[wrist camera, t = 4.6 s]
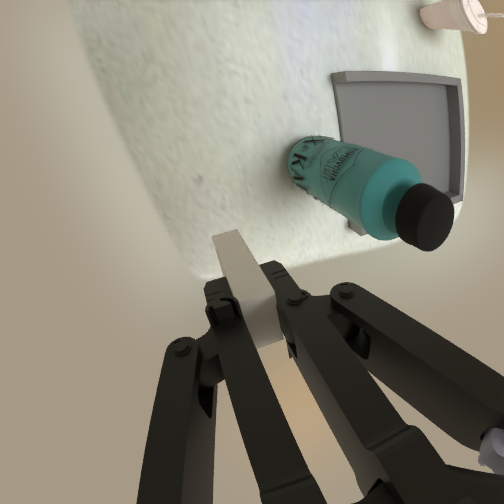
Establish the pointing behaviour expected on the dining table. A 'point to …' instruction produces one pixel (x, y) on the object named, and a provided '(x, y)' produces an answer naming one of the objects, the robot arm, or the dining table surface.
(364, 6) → the dining table surface
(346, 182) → the beverage bottle
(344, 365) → the robot arm
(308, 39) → the dining table surface
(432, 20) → the smoothie
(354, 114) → the charcoal tray
